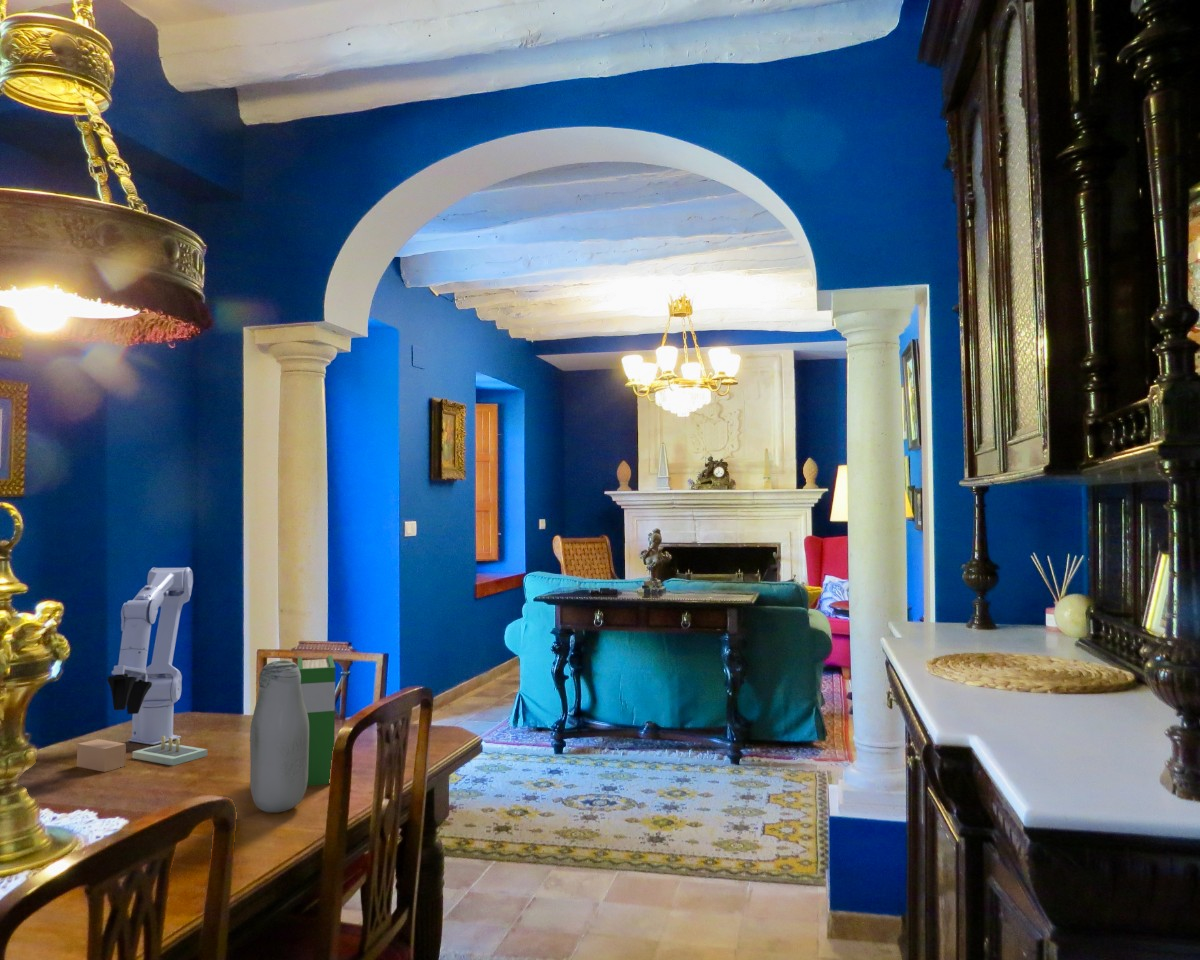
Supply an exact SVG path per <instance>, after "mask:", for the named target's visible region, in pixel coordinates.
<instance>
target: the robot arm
mask: <svg viewBox="0 0 1200 960" xmlns="http://www.w3.org/2000/svg"><path fill="white" fill-rule="evenodd" d="M146 580H147V583H146V585H144V587H142V588H141V589H140V590H139V591H138V593H137V594H136V595H135V597H134V598H133V599H132V600H131V599H130V600H127V602H124V603H122V604H123V605H122V607H121V610H120V618H121V621H120V622H121V624H120V630H121V632H122V634H121V642H120V649H119V655H118V656H119V658H118V663H117V665H114V666H113V670H111V675H109V676H107V679H106V681H107V683H108V685H109V687H110V692H111V697H112V705H113V706H112V707H113V710H114V711H124V710H126V711H127V714H128V715H132V718H131V719H132V720H131V722H132V723H131V724H132V725H131V738H128V741H129V742H133V743H140V744H143V745H144V744H145V745H151V746H152V745H153V746H156V745H160V744H161V736H165V743H168V742H169V737H172V741H174V740H176V739H177V738H180V739H181V738H182V736H181V735H177V734H174V709H175V708H174V705H175V703H177V702H178V700H180V698H181V695H182V691H183V690H182V683H183V682H182V680H183V675H182V672H181V671H180V670H179V669H178V668H176V667H175V666H173V660H174V655H175V654H174V653H175V647H176V644H177V643H176V642H177V637H178V636H177V635H178V631H179V630H178V629H179V626H180V625H179V623H180V617H181V612H182V609H183V605H184V604H186V603H188V602H190V598H191V595H192V590H193V584H194V573H193V570H192V569H191V567H189V566H187V567H152V568H151V569H150V570H149V571H148V573H147V579H146ZM159 607H160V611H159ZM158 612H159V618H158V624H157V630H156V635H155V641H154V642H155V643H154V647H153V652H152V658H151V663H150V664H149V665H148V666H147V662H148V654H149V649H150V648H149V646H150V638H151V633H152V632H151V631H152V625H153V624H155V622H156V619H157V615H158Z"/></svg>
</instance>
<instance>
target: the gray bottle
mask: <svg viewBox="0 0 1200 960" xmlns="http://www.w3.org/2000/svg"><path fill="white" fill-rule="evenodd" d="M249 751H250V753H249V754H250V767H249V768H250V770H249V771H250V776H249V777H250V781H249V783H250V784H249V785H250V793H251V796H252V799H253V803H254V804H255V806H256V807H257V808H258V809H259V810H261V811H262V812H265V813H267V814H268V813H274V814H275V813H282V812H286V811H288V810H291V809H294V808H295V807H296V806H298V805H299V803H300V802H301V801H302V800H303V798H304V797H305V793H306V792H307V787H308V786H307V782H308V757H309V719H308V714H307V710H306V707H305V704H304V700H303V694H302V689H301V673H300V670H299V667H298V663H295V662H293V661H292V660H291V661H290V660H275V661H271V662H269V663H267V664H266V665H264V667H262V669H261V670H260V673H259V678H258V693H257V701H256V702H255V707H254V710H253V715H252V719H251V723H250V731H249Z"/></svg>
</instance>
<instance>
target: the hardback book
mask: <svg viewBox="0 0 1200 960" xmlns="http://www.w3.org/2000/svg"><path fill="white" fill-rule="evenodd" d="M297 666H298V667H299V670H300V673H301V689H302V694H303V700H304V704H305V707H306V710H307V714H308V719H309V757H308V782H307V787H310V786H311V787H312V786H321V785H329V779H330V769H331V760H332V751H333V747H334V748H335V727H336V726H335V720H336V719H335V718H336V715H335V714H336V713H335V711H336V710H335V709H336V665H335V661H334V658H333V655H327V658H322V659H321V658H320V659H304V660H303V656H298V657H297Z"/></svg>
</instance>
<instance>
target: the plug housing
mask: <svg viewBox="0 0 1200 960" xmlns="http://www.w3.org/2000/svg"><path fill="white" fill-rule="evenodd" d="M76 745H77V748H76V749H77V750H76V751H77V752H76V767H78V768H83V769H86V770H87V769H88V770H92V771H98V772H103V773H106V772H109V771H114V770H117V769H121V768H125V767H126V758H127V757H126V753H127V750H126V749H127V743H123V742H117V741H111V740H106V739H100V738H97V739H92V740H89V741H83V742H79V743H77V744H76ZM124 766H125V767H124ZM120 767H121V768H120Z"/></svg>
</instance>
